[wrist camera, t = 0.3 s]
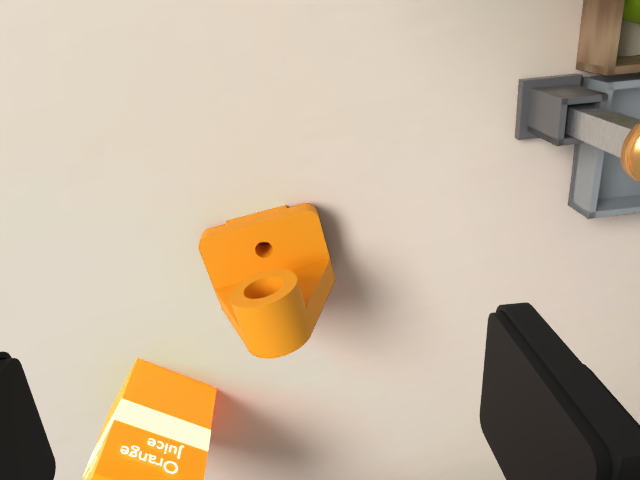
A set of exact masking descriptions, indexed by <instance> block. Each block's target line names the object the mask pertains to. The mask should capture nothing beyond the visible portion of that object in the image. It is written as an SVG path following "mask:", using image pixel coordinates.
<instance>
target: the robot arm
mask: <svg viewBox="0 0 640 480" xmlns="http://www.w3.org/2000/svg"><path fill="white" fill-rule="evenodd" d="M480 423H481V428H482V431H483V433H484V436H485V438H486V440H487V442H488V444H489V446H490V448H491V450H492V452H493V454H494V456H495V458H496V460H497V462H498V464H499V466H500V468H501V470H502V472H503V474H504V476H505V478H506V480H640V425H639V424H638V423H637V422H636V421H635V420H634V418H633V417H632V416H631V415H630V414H629V413H628V412H627V411H626V409H625V408H624V407H623V406H622V405H621V404H620V403H619V401H618V400H617V399H616V398H615V397H614V396H613V395H612V394H611V392H610V391H609V390H608V389H607V388H606V387H605V386H604V384H603V383H602V382H601V381H600V380H599V379H598V378H597V376H596V375H595V374H594V373H593V372H592V371H591V370H590V369H589V368H588V367H587V366H586V365H584V364H582V363H581V361H580V360H579V359H578V358H577V357H576V356H575V355H574V353H573V352H572V351H571V350H570V349H569V348H568V347H567V345H566V344H565V343H564V342H563V341H562V340H561V339H560V337H559V336H558V335H557V334H556V333H555V332H554V331H553V329H552V328H551V327H550V326H549V325H548V324H547V322H546V321H545V320H544V319H543V318H542V317H541V316H540V314H539V313H538V312H537V311H536V310H535V309H534V308H533V306H532V305H530V304H529V303H516V304H506V305H500V306H498V308H497V310H496V313H491V314H490V315H489V318H488V327H487V338H486V350H485V361H484V372H483V384H482V395H481V406H480ZM55 469H56V465H55V459H54V456H53V453H52V450H51V447H50V444H49V442H48V439H47V436H46V433H45V430H44V427H43V425H42V422H41V419H40V416H39V413H38V410H37V408H36V405H35V402H34V399H33V396H32V393H31V391H30V388H29V385H28V382H27V379H26V376H25V374H24V371H23V368H22V365H21V363H20V361H19V360H18V359H16V358H11V356H10V355H9V354H8V353H7V352H0V480H53V479H54V476H55Z"/></svg>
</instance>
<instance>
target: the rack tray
mask: <svg viewBox="0 0 640 480" xmlns="http://www.w3.org/2000/svg"><path fill="white" fill-rule="evenodd" d="M582 87H584V88H588V89H592V90H596V91H599V92H603V93H607V94H608V101H607V108H606V109H608V110H612V111H615V112H618V113H621V114H624V115H627V116H631V117H634V118H637V119H640V72H637V73H627V74H617V75H600V76H590V77H583V84H582ZM568 205H569V206H570V207H572V208H573V209H575V210H576V211H578V212H579V213H581V214H582V215H584V216H585V217H586V218H588V219H590V218H599V217H608V216H617V215H626V214H634V213H640V182H638V181H636V180H634V179H632V178H630V177H629V176H628V175H627V174H626V173H625V171H624V170H623V168H622V165H621V158H620V157H617V156H615V155H613V154H611V153H608V152H606V151H604V150H602V149H599V148H597V147H595V146H593V145H590V144H588V143H579V144H575V151H574V159H573V167H572V176H571V184H570V192H569V201H568Z"/></svg>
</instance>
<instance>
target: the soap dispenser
mask: <svg viewBox="0 0 640 480" xmlns="http://www.w3.org/2000/svg"><path fill="white" fill-rule="evenodd" d="M623 18H624V19H626V20H628V21H630V22H634V23H640V0H625V3H624V10H623Z"/></svg>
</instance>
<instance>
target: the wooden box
mask: <svg viewBox="0 0 640 480" xmlns="http://www.w3.org/2000/svg"><path fill="white" fill-rule="evenodd" d="M624 3H625V0H584V2H583V11H582V19H581V28H580V37H579V46H578V54H577V63H576V69H579V70H583V71H588V72H593V73H597V74H602V75H617V74H627V73H637V72H640V55H636V56H626V57H617V52H618V45H619V38H620V31H621V24H622V17H623V10H624Z"/></svg>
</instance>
